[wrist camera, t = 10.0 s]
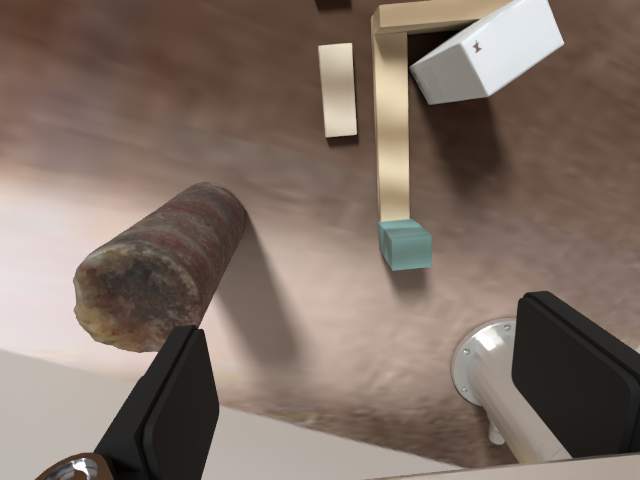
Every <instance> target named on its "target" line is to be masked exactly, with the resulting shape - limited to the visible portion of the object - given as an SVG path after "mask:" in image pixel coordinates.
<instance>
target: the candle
mask: <svg viewBox="0 0 640 480" xmlns="http://www.w3.org/2000/svg"><path fill="white" fill-rule="evenodd" d="M244 229H245V215H244V211H243V208H242V205H241V203H240V202H239V200H238V199H237V198H236V197H235V195H234V194H233V193H232V192H231V191H230V190H228V189H226V188H224V187H223V186H220V185H218V184H214V183H210V182H203V183H198V184H195V185H193V186H191V187H189V188H188V189H186V190H185V191H183V192H181V193H180V194H178V195H177V196H176V197H174V198H173V199H171V200H170V201H168V202H167V203H166V204H164V205H163V206H161V207H160V208H159V209H157V210H156V211H154V212H153V213H151V214H150V215H148V216H146V217H145V218H144V219H142V220H141V221H139V222H137V223H136V224H134V225H133V226H132V227H130V228H129V229H127V230H126V231H124V232H122V233H121V234H119V235H118V236H116V237H115V238H113V239H112V240H111V241H109V242H108V243H106V244H104V245H102V246H100V247H99V248H97V249H96V250H95V251H93V252H92V253H91V254H89V255H88V256H87V257H86V258H85V260H84V261H83V262H82V263H81V264H80V265H79V267H78V268H77V269H76V273H75V277H74V279H73V283H74V286H75V293H76V306H75V308H74V313H75V314H76V318H77V320H78V322H79V324H80V325H81V326H82V327H83V328H84V330H85V331H87V332H88V333H89V334H90V335H91V337H92V338H93V339H94V340H95V341H97V342H101V343H103V344H106V345H113V346H115V347H116V348H118V349H122V350H127V351H133V352H138V353H141V352H153V351H156V352H159V351H160V349H161V347H162V346H163V344H164V343H165V341H166V339H167V338H168V336H169V334H170V333H171V331H172V330H173V328H174V327H176V326H185V325H196V326H197V328H198V327H199V326H200V324H201V321H202V319H203V317H204V314H205V312H206V310H207V308H208V306H209V304H210V302H211V300H212V297H213V295H214V293H215V291H216V289H217V287H218V285H219V282H220V280H221V278H222V276H223V274H224V272H225V270H226V268H227V266H228V264H229V262H230V260H231V258H232V256H233V253H234V251H235V250H236V248H237V246H238V243H239V241H240V239H241V236H242V234H243V232H244Z"/></svg>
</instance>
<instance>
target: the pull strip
mask: <svg viewBox="0 0 640 480" xmlns="http://www.w3.org/2000/svg"><path fill="white" fill-rule="evenodd" d="M512 1H513V0H432V1H421V2H410V3H399V4H388V5H379V7H378V8H377V10H376V11H375V13H374V14H373V16H372V17H371V39H372V63H373V88H374V113H375V137H376V162H377V186H378V211H379V222H378V228H379V249H380V251H381V253H382V254H383V256H384V258H385V259H386V261H387V262H388V264H389V266H390V267H391V269H392V271H395V270H405V269H415V268H425V267H432V235H430V234H429V233H428V232H427V231H426V230H425V229H424V228H422V227H421V226H420V225H419V224H418V223H417V222H416V221H414V220H413V219H410V213H409V140H408V66H407V35H410V34H421V33H432V32H444V31H455V30H462V29H464V28H466V27H467V26H469V25H471V24H473V23H475V22H476V21H478V20H480V19H482V18H484V17H485V16H487V15H489V14H491V13H492V12H494V11H496V10H498V9H500V8H501V7H503V6H505V5H507V4H508V3H510V2H512Z"/></svg>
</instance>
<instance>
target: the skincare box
mask: <svg viewBox="0 0 640 480" xmlns="http://www.w3.org/2000/svg"><path fill="white" fill-rule="evenodd" d="M563 45H564V41H563V39H562V37H561V34H560V32H559V29H558V27H557V24H556V22H555V19H554V16H553V14H552V11H551V9H550V6H549V4H548V1H547V0H514V1H512V2H510V3H508V4H507V5H505V6H503V7H501V8H500V9H498V10H496V11H494V12H492V13H491V14H489V15H487V16H485V17H484V18H482V19H480V20H478V21H476V22H475V23H473V24H471V25H469V26H467V27H466V28H464V29H462V30H460V31H459V32H457V33H456V34H455V35H453V36H452V37H450V38H449V39H447V40H446V41H445V42H443V43H442V44H440V45H439V46H438V47H436V48H435V49H433V50H432V51H431V52H429V53H428V54H427V55H425V56H424V57H422V58H421V59H420V60H418V61H417V62H416V63H414V64H413V65H411V66H410V67H409V70H410V71H411V73H412V75H413V77H414V79H415V80H416V82H417V84H418V86H419V88H420V90H421V91H422V93H423V95H424V97H425V99H426V101H427V103H428V104H429V105H432V104H439V103H446V102H454V101H461V100H468V99H475V98H483V97H489V96H490V95H492V94H493V93H495V92H496V91H498V90H499V89H501V88H502V87H504V86H505V85H507V84H508V83H510V82H511V81H513V80H514V79H516V78H517V77H518V76H520V75H521V74H523V73H524V72H525V71H527V70H528V69H530V68H531V67H532V66H534V65H535V64H537V63H538V62H540V61H541V60H542V59H544V58H545V57H547V56H548V55H550V54H551V53H553V52H554V51H555V50H557V49H558V48H560V47H561V46H563Z"/></svg>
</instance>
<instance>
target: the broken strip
mask: <svg viewBox="0 0 640 480" xmlns="http://www.w3.org/2000/svg"><path fill="white" fill-rule="evenodd" d="M318 52H319V65H320V77H321V89H322V101H323V114H324V126H325V137H336V136H347V135H357V129H356V111H355V93H354V75H353V57H352V43H346V44H335V45H324V46H319V47H318Z"/></svg>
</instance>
